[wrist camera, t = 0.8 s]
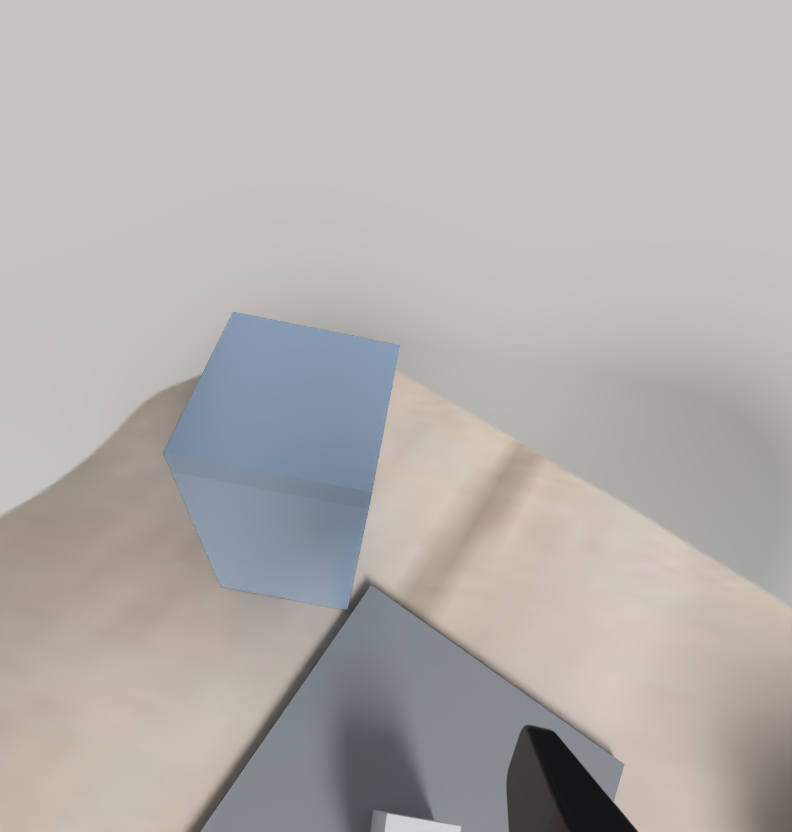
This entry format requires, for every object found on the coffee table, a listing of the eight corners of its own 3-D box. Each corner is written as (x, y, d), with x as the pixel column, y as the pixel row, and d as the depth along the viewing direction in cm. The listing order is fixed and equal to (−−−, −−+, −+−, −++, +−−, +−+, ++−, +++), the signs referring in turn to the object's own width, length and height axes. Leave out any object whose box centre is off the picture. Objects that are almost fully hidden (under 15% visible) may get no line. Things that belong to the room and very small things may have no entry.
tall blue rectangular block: (347, 610, 22) (371, 492, 14) (220, 586, 22) (163, 452, 13) (375, 463, 27) (407, 305, 18) (270, 443, 27) (251, 274, 18)
